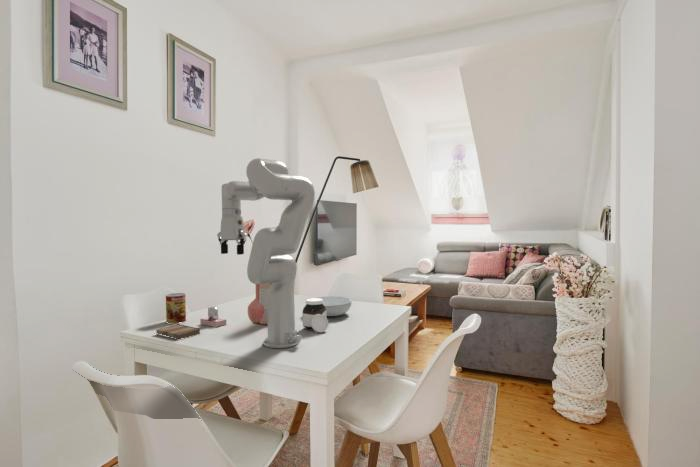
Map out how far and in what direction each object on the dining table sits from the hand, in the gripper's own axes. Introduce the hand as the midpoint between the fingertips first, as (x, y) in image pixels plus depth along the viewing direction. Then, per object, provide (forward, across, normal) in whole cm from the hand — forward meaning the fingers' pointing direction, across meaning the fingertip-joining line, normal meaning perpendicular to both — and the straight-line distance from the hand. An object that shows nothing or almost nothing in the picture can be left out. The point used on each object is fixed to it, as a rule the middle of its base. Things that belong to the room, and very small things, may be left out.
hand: (232, 253), depth 162 cm
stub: (+30, +9, +3) cm, 32 cm away
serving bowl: (+31, -24, -36) cm, 53 cm away
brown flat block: (+30, +9, +20) cm, 37 cm away
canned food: (+31, +28, +8) cm, 42 cm away
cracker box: (+31, -9, -14) cm, 35 cm away
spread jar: (+31, -34, -13) cm, 48 cm away
